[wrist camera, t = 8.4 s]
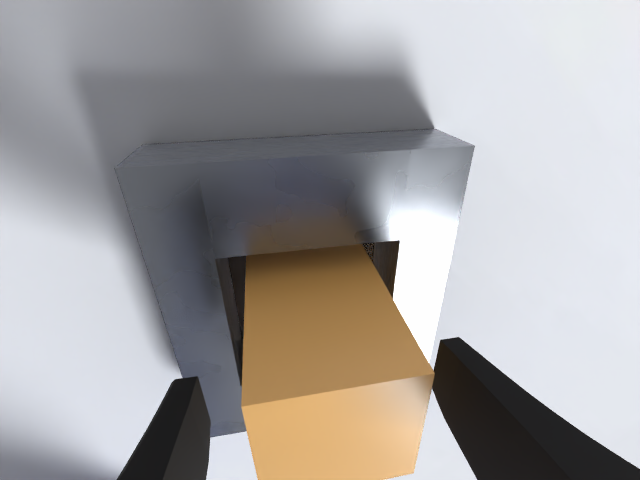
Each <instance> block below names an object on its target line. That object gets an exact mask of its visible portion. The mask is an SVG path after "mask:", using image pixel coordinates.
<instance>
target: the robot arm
mask: <svg viewBox="0 0 640 480" xmlns="http://www.w3.org/2000/svg"><path fill="white" fill-rule="evenodd" d="M434 373H435V375H434V380H433V385H432V389H433V391H434V394H435V397H436V399H437V402H438V404H439V407H440V409H441V411H442V414H443V416H444V418H445V420H446V422H447V424H448V426H449V428H450V430H451V432H452V434H453V435H454V437H455V439H456V441H457V443H458V445H459V447H460V448H461V450H462V452H463V454H464V456H465V458H466V460H467V461H468V463H469V465H470V467H471V469H472V471H473V472H474V474H475V476H476V478H477V480H640V469H639V468H637V467H636V466H634V465H632V464H631V463H629V462H627V461H626V460H624V459H623V458H621V457H620V456H618V455H617V454H615V453H613V452H612V451H610V450H609V449H607V448H606V447H604V446H603V445H601V444H599V443H598V442H596V441H595V440H593V439H592V438H590V437H589V436H587V435H586V434H584V433H583V432H581V431H580V430H578V429H577V428H576V427H574V426H573V425H571V424H570V423H569V422H567V421H566V420H564V419H563V418H562V417H560V416H559V415H557V414H556V413H555V412H553V411H552V410H550V409H549V408H548V407H546V406H545V405H544V404H542V403H541V402H540V401H538V400H537V399H536V398H534V397H533V396H532V395H530V394H529V393H528V392H526V391H525V390H524V389H523V388H521V387H520V386H519V385H518V384H516V383H515V382H514V381H512V380H511V379H510V378H509V377H507V376H506V375H505V374H504V373H502V372H501V371H500V370H499V369H497V368H496V367H495V366H494V365H493V364H491V363H490V362H489V361H488V360H486V359H485V358H484V357H483V356H482V355H480V354H479V353H478V352H477V351H475V350H474V349H473V348H472V347H471V346H469V345H468V344H467V343H466V342H464V341H463V340H462V339H461V338H459V337H457V338H450V339H443V340H440V344H439V349H438V353H437V358H436V362H435V367H434ZM210 428H211V420H210V416H209V413H208V409H207V406H206V403H205V399H204V396H203V392H202V389H201V385H200V382H199V378H198V376H194V377H188V378H181V379H175V380H174V381H173V382H172V383H171V385H170V387H169V389H168V391H167V393H166V395H165V397H164V399H163V401H162V402H161V404H160V406H159V408H158V410H157V412H156V414H155V415H154V417H153V419H152V421H151V423H150V424H149V426H148V428H147V430H146V432H145V433H144V435H143V437H142V438H141V440H140V442H139V443H138V445H137V447H136V449H135V450H134V452H133V454H132V455H131V457H130V459H129V460H128V462H127V464H126V465H125V467H124V469H123V470H122V472H121V473H120V475H119V477H118V478H117V480H206V475H207V468H208V462H209V447H210Z"/></svg>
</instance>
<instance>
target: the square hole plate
mask: <svg viewBox="0 0 640 480" xmlns="http://www.w3.org/2000/svg"><path fill="white" fill-rule="evenodd" d="M474 147H475V146H474V145H472V144H469V143H467V142H465V141H462V140H460V139H458V138H456V137H453V136H451V135H449V134H446V133H444V132H442V131H439V130H437V129H424V130H406V131H387V132H368V133H350V134H331V135H312V136H294V137H275V138H256V139H238V140H219V141H200V142H182V143H163V144H144V145H141V146H140V147H139V148H138V149H137V150H135V151H134V152H133V153H132V154H131V155H129V156H128V157H127V158H126V159H125V160H124V161H122V162H121V163H120V164H119V165H118V166H116V167H115V171H116V174H117V178H118V181H119V184H120V187H121V190H122V193H123V196H124V199H125V202H126V205H127V208H128V211H129V214H130V217H131V221H132V224H133V227H134V230H135V233H136V236H137V239H138V242H139V245H140V248H141V251H142V254H143V257H144V260H145V263H146V267H147V270H148V273H149V276H150V279H151V282H152V285H153V288H154V291H155V294H156V297H157V300H158V303H159V306H160V310H161V313H162V316H163V319H164V322H165V325H166V328H167V331H168V334H169V337H170V340H171V343H172V346H173V349H174V353H175V356H176V359H177V362H178V365H179V368H180V371H181V374H182V377H183V378H188V377H194V376H198V378H199V382H200V385H201V389H202V392H203V396H204V399H205V403H206V406H207V409H208V413H209V416H210V420H211V428H210V437H216V436H221V435H227V434H233V433H239V432H245V431H247V430H246V425H245V421H244V417H243V412H242V408H241V399H242V368H243V339H242V334H241V329H240V323H239V317H238V312H237V306H236V301H235V295H234V290H233V284H232V278H231V273H230V267H229V262H228V257H237V256H247V255H257V254H267V253H276V252H286V251H296V250H306V249H316V248H326V247H336V246H346V245H356V244H366V243H374V253H373V264H374V266H375V268H376V270H377V271H378V273H379V275H380V277H381V279H382V280H383V282H384V284H385V286H386V287H387V289H388V291H389V293H390V295H391V296H392V298H393V300H394V302H395V303H396V305H397V307H398V309H399V311H400V312H401V314H402V316H403V318H404V319H405V321H406V323H407V325H408V327H409V328H410V330H411V332H412V334H413V335H414V337H415V339H416V341H417V343H418V344H419V346H420V348H421V350H422V351H423V353H424V355H425V357H426V359H427V360H428V362H429V360H430V356H431V351H432V346H433V341H434V337H435V332H436V327H437V322H438V318H439V313H440V308H441V303H442V299H443V294H444V289H445V284H446V280H447V275H448V270H449V265H450V261H451V256H452V251H453V246H454V242H455V237H456V232H457V227H458V223H459V218H460V213H461V208H462V204H463V199H464V194H465V189H466V185H467V180H468V175H469V170H470V166H471V161H472V156H473V151H474Z"/></svg>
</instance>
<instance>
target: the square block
mask: <svg viewBox="0 0 640 480" xmlns="http://www.w3.org/2000/svg"><path fill="white" fill-rule="evenodd" d="M434 375H435V373H434V371H433V369H432V367H431V366H430V364H429V362H428V360H427V359H426V357H425V355H424V353H423V351H422V350H421V348H420V346H419V344H418V343H417V341H416V339H415V337H414V335H413V334H412V332H411V330H410V328H409V327H408V325H407V323H406V321H405V319H404V318H403V316H402V314H401V312H400V311H399V309H398V307H397V305H396V303H395V302H394V300H393V298H392V296H391V295H390V293H389V291H388V289H387V287H386V286H385V284H384V282H383V280H382V279H381V277H380V275H379V273H378V271H377V270H376V268H375V266H374V264H373V263H372V261H371V259H370V257H369V256H368V254H367V252H366V250H365V248H364V247H363V245H362V244H356V245H346V246H336V247H326V248H316V249H306V250H296V251H286V252H276V253H267V254H257V255H247V256H246V277H245V308H244V338H243V368H242V399H241V408H242V412H243V417H244V421H245V425H246V430H247V434H248V439H249V443H250V447H251V452H252V456H253V460H254V465H255V469H256V473H257V478H258V480H384V479H389V478H394V477H398V476H403V475H408V474H412V473H414V469H415V464H416V460H417V455H418V450H419V445H420V441H421V436H422V431H423V427H424V422H425V417H426V413H427V408H428V403H429V399H430V394H431V389H432V385H433V380H434Z"/></svg>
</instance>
